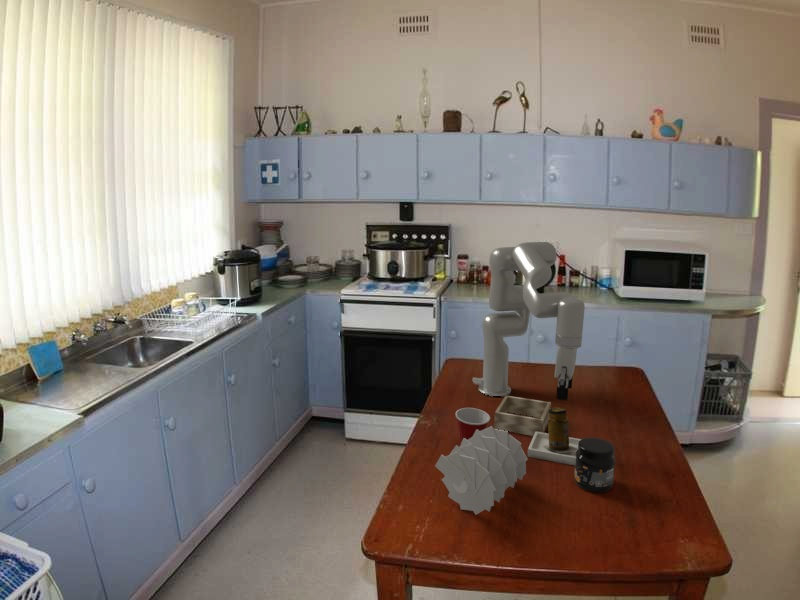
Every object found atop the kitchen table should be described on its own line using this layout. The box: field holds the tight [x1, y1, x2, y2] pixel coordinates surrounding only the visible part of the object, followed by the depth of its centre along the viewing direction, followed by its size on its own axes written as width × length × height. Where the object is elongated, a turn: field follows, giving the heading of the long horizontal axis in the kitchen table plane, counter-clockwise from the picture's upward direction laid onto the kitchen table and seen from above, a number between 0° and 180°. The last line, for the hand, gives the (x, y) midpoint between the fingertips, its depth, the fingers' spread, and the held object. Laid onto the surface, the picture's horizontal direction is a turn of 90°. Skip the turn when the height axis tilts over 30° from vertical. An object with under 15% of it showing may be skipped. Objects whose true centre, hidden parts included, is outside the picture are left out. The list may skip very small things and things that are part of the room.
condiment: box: [544, 407, 578, 453], centre depth 181 cm, size 7×8×12 cm
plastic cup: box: [455, 407, 491, 444], centre depth 183 cm, size 11×11×12 cm
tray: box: [527, 432, 581, 467], centre depth 182 cm, size 18×13×2 cm
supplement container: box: [573, 437, 616, 494], centre depth 163 cm, size 10×10×12 cm
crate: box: [493, 395, 552, 437], centre depth 202 cm, size 16×16×6 cm
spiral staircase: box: [434, 425, 528, 516], centre depth 157 cm, size 18×18×25 cm
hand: (564, 393), depth 178 cm, fingers open, 9 cm apart
